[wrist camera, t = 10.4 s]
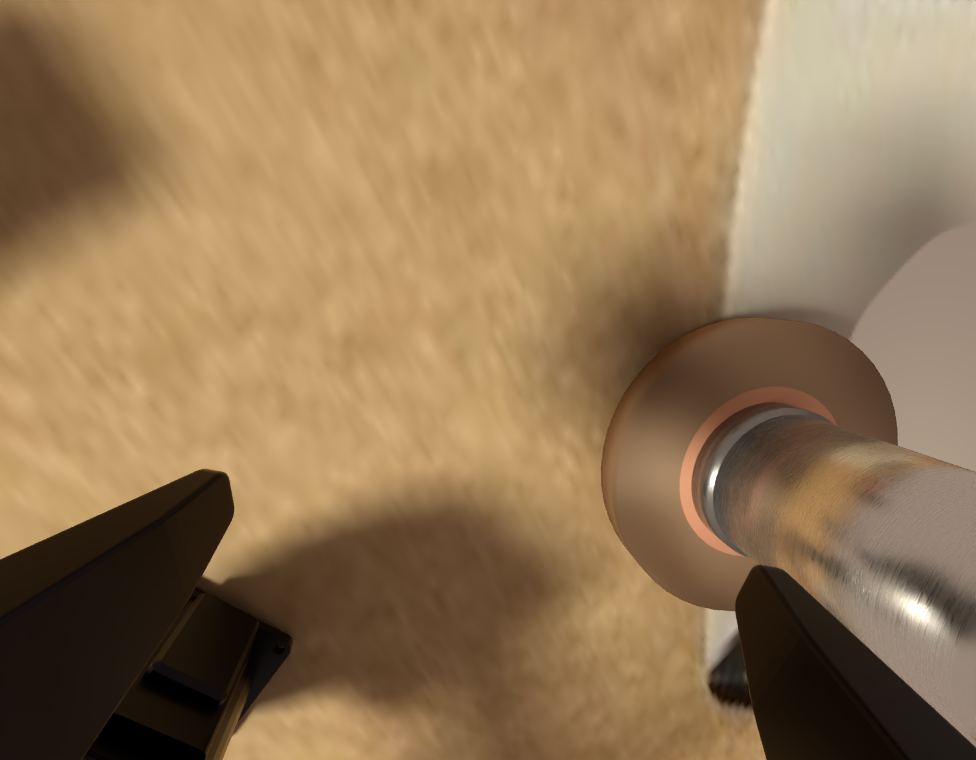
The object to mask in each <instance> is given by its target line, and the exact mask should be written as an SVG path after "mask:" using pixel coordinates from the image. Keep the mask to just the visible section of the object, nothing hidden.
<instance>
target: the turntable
mask: <svg viewBox="0 0 976 760" xmlns="http://www.w3.org/2000/svg"><path fill="white" fill-rule="evenodd" d="M769 402H777V403H785V404H789V405H792V406H795V407H799V408H802V409H805V410H808V411H811V412H814V413H817V414H819V415H821V416H823V417H825V418H827V419H828V420H830V421H831V422H832V423H833V424H834V425H837V426H840V427H843V428H846V429H849V430H852V431H855V432H858V433H861V434H864V435H866V436H869V437H872V438H875V439H878V440H881V441H884V442H887V443H890V444H893V445H896V446H898V441H897V424H896V417H895V410H894V407H893V403H892V400H891V396H890V393H889V391H888V389H887V387H886V385H885V382H884V380H883V378H882V377H881V375H880V373H879V372H878V370H877V369H876V367H875V366H874V364H873V363H872V362H871V361H870V360H869V358H868V357H867V356H866V355H865V354H864V353H863V352H862V351H861V350H860V349H859V348H857V347H856V346H855V345H854V344H853V343H851V342H850V341H849V340H847V339H846V338H844V337H842V336H840V335H839V334H837V333H835V332H833V331H831V330H828V329H826V328H823V327H820V326H818V325H813V324H809V323H804V322H799V321H789V320H779V319H769V318H753V317H748V318H736V319H729V320H725V321H721V322H716V323H713V324H710V325H707V326H705V327H702V328H699V329H697V330H695V331H693V332H691V333H689V334H687V335H685V336H683V337H681V338H679V339H678V340H677V341H675V342H674V343H672V344H671V345H669V346H668V347H666V348H665V349H664V350H662V351H661V352H660V353H659V354H658V355H657V356H656V357H655V358H653V359H652V360H651V361H650V362H649V363H648V364H647V365H646V366H645V367H644V369H643V370H642V371H641V372H640V373H639V374H638V375H637V377H636V378H635V379H634V380H633V382H632V383H631V385H630V386H629V388H628V389H627V391H626V392H625V393H624V395H623V397H622V399H621V401H620V403H619V405H618V406H617V408H616V410H615V412H614V415H613V417H612V420H611V423H610V425H609V428H608V431H607V435H606V439H605V443H604V447H603V454H602V463H601V486H602V492H603V498H604V504H605V507H606V510H607V513H608V517H609V519H610V522H611V524H612V526H613V528H614V530H615V532H616V534H617V536H618V537H619V538H620V540H621V541H622V543H623V544H624V546H625V547H626V549H627V550H628V551H629V552H630V554H631V555H632V556H633V557H634V558H635V560H636V561H637V562H638V563H639V565H640V566H641V567H642V568H643V570H644V571H645V572H646V573H647V574H648V575H649V576H650V577H651V578H652V579H653V580H654V581H655V582H656V583H657V584H658V585H660V586H661V587H662V588H663V589H665V590H666V591H667V592H669V593H671V594H672V595H674V596H676V597H678V598H679V599H681V600H683V601H686V602H689V603H691V604H694V605H696V606H700V607H705V608H709V609H713V610H725V611H735V601H736V597H737V595H738V593H739V591H740V589H741V587H742V585H743V583H744V581H745V580H746V578H747V576H748V574H749V572H750V570H751V569H752V567H754V566H755V565H758V564H757V563H756V562H755V561H753V560H752V559H751V558H749V557H746V556H743V555H741V554H739V553H737V552H735V551H734V550H732V549H731V548H730V547H728V546H727V545H726V544H725V543H724V542H722V541H721V540H720V539H719V538H718V537H716V536H715V535H714V534H713V533H712V532H710V531H709V530H708V528H707V527H706V526H705V525H704V524H703V523H702V521H701V520H700V518H699V516H698V514H697V512H696V510H695V507H694V504H693V499H692V490H691V482H692V474H693V469H694V465H695V462H696V459H697V456H698V454H699V452H700V450H701V448H702V446H703V444H704V443H705V441H706V440H707V438H708V437H709V436H710V434H711V433H712V432H713V431H714V430H715V429H716V428H717V427H718V426H719V425H720V424H721V423H722V422H723V421H724V420H726V419H727V418H728V417H729V416H731V415H733V414H734V413H736V412H738V411H740V410H742V409H744V408H746V407H749V406H752V405H755V404H761V403H769Z"/></svg>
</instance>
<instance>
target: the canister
mask: <svg viewBox="0 0 976 760" xmlns="http://www.w3.org/2000/svg"><path fill="white" fill-rule="evenodd" d="M691 490H692V499H693V504H694V507H695V510H696V512H697V514H698V516H699V518H700V520H701V521H702V523H703V524H704V525H705V526H706V527H707V528H708V530H709V531H710V532H712V533H713V534H714V535H715V536H716V537H718V538H719V539H720V540H721V541H722V542H724V543H725V544H726V545H727V546H728V547H730V548H731V549H732V550H734V551H735V552H737V553H739V554H741V555H743V556H746V557H749V558H751V559H752V560H753V561H755V562H756V563H757V564H758V565H765V566H771V567H776V568H780V569H783V570H784V571H786V572H787V573H788V574H789V575H790V576H791V577H792V578H793V579H795V580H796V581H797V582H798V583H799V584H800V585H801V586H802V587H803V588H804V589H805V590H806V591H808V592H809V593H810V594H811V595H812V596H813V597H814V598H815V599H816V600H817V601H818V602H819V603H820V604H822V605H823V606H824V607H825V608H826V609H827V610H828V611H829V612H830V613H831V614H832V615H833V616H835V617H836V618H837V619H838V620H839V621H840V622H841V623H842V624H843V625H844V626H845V627H846V628H847V629H849V630H850V631H851V632H852V633H853V634H854V635H855V636H856V637H857V638H858V639H859V640H860V641H862V642H863V643H864V644H865V645H866V646H867V647H868V648H869V649H870V650H871V651H872V652H873V653H874V654H876V655H877V656H878V657H879V658H880V659H881V660H882V661H883V662H884V663H885V664H886V665H887V666H889V667H890V668H891V669H892V670H893V671H894V672H895V673H896V674H897V675H898V676H899V677H900V678H901V679H903V680H904V681H905V682H906V683H907V684H908V685H909V686H910V687H911V688H912V689H913V690H914V691H916V692H917V693H918V694H919V695H920V696H921V697H922V698H923V699H924V700H926V701H927V702H928V703H929V704H931V705H932V706H933V707H934V708H935V709H937V710H938V711H939V712H940V713H942V714H943V715H944V716H945V717H947V718H948V719H949V720H950V721H951V722H953V723H954V724H955V725H956V726H958V727H959V728H960V729H961V730H963V731H964V732H965V733H966V734H968V735H969V736H970V737H971V738H972V739H974V740H975V741H976V472H974V471H971V470H968V469H965V468H962V467H959V466H956V465H953V464H950V463H947V462H944V461H941V460H938V459H935V458H932V457H929V456H926V455H923V454H920V453H917V452H914V451H911V450H908V449H905V448H902V447H899V446H896V445H893V444H890V443H887V442H884V441H881V440H878V439H875V438H872V437H869V436H866V435H864V434H861V433H858V432H855V431H852V430H849V429H846V428H843V427H840V426H837V425H834V424H833V423H832V422H831V421H830V420H828V419H827V418H825V417H823V416H821V415H819V414H817V413H814V412H811V411H808V410H805V409H802V408H799V407H795V406H792V405H789V404H785V403H777V402H769V403H761V404H755V405H752V406H749V407H746V408H744V409H742V410H740V411H738V412H736V413H734V414H733V415H731V416H729V417H728V418H727V419H726V420H724V421H723V422H722V423H721V424H720V425H719V426H718V427H717V428H716V429H715V430H714V431H713V432H712V433H711V434H710V436H709V437H708V438H707V440H706V441H705V443H704V444H703V446H702V448H701V450H700V452H699V454H698V456H697V459H696V462H695V465H694V469H693V474H692V482H691Z"/></svg>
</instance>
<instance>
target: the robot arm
mask: <svg viewBox="0 0 976 760" xmlns="http://www.w3.org/2000/svg"><path fill="white" fill-rule="evenodd" d="M233 515H234V502H233V497H232V491H231V486H230V480H229V477H228V475H227V474H226V473H224V472H221V471H215V470H209V469H201V470H198V471H195V472H193V473H191V474H189V475H187V476H184V477H182V478H180V479H178V480H175V481H173V482H171V483H169V484H167V485H164V486H162V487H160V488H158V489H155V490H153V491H151V492H149V493H147V494H144V495H142V496H140V497H138V498H136V499H133V500H131V501H129V502H127V503H124V504H122V505H120V506H118V507H116V508H113V509H111V510H109V511H107V512H105V513H102V514H100V515H98V516H96V517H93V518H91V519H89V520H87V521H85V522H82V523H80V524H78V525H76V526H74V527H71V528H69V529H67V530H65V531H62V532H60V533H58V534H56V535H54V536H51V537H49V538H47V539H45V540H42V541H40V542H38V543H36V544H34V545H31V546H29V547H27V548H25V549H23V550H20V551H18V552H16V553H14V554H11V555H9V556H7V557H5V558H3V559H0V760H223V757H224V754H225V752H226V749H227V747H228V744H229V742H230V739H231V737H232V734H233V732H234V729H235V727H236V724H237V723H238V721H239V720H240V719H241V717H242V716H243V715H244V713H245V712H246V711H247V709H248V708H249V707H250V705H251V704H252V703H253V701H254V700H255V699H256V697H257V696H258V695H259V693H260V692H261V691H262V689H263V688H264V687H265V685H266V684H267V683H268V682H269V680H270V679H271V678H272V676H273V675H274V674H275V672H276V671H277V670H278V668H279V667H280V666H281V664H282V663H283V662H284V660H285V659H286V658H287V656H288V655H289V653H290V651H291V648H292V645H293V640H292V638H291V637H290V636H289V635H288V634H286V633H284V632H282V631H280V630H278V629H276V628H274V627H272V626H270V625H268V624H266V623H264V622H262V621H260V620H258V619H257V618H255V617H253V616H251V615H249V614H247V613H245V612H243V611H241V610H239V609H237V608H235V607H233V606H231V605H229V604H228V603H226V602H224V601H222V600H220V599H218V598H216V597H214V596H212V595H210V594H208V593H206V592H204V591H202V590H200V589H198V588H196V586H197V584H198V582H199V580H200V578H201V577H202V575H203V573H204V571H205V569H206V567H207V566H208V564H209V562H210V560H211V558H212V556H213V554H214V553H215V551H216V549H217V547H218V545H219V543H220V541H221V540H222V538H223V536H224V534H225V532H226V530H227V528H228V527H229V525H230V523H231V521H232V518H233ZM735 613H736V618H737V624H738V630H739V636H740V641H741V647H742V653H743V658H744V664H745V670H746V676H747V681H748V687H749V693H750V697H751V702H752V707H753V711H754V715H755V719H756V723H757V727H758V730H759V734H760V738H761V741H762V745H763V748H764V752H765V755H766V759H767V760H976V747H975V746H974V745H973V744H972V743H971V742H970V741H968V740H967V739H966V738H965V737H964V736H963V735H962V734H961V733H960V732H959V731H958V730H957V729H955V728H954V727H953V726H952V725H951V724H950V723H949V722H948V721H947V720H946V719H945V718H943V717H942V716H941V715H940V714H939V713H938V712H937V711H936V710H935V709H934V708H933V707H932V706H931V705H930V704H928V703H927V702H926V701H925V700H924V699H923V698H922V697H921V696H920V695H919V694H918V693H917V692H916V691H914V690H913V689H912V688H911V687H910V686H909V685H908V684H907V683H906V682H905V681H904V680H903V679H901V678H900V677H899V676H898V675H897V674H896V673H895V672H894V671H893V670H892V669H891V668H890V667H889V666H887V665H886V664H885V663H884V662H883V661H882V660H881V659H880V658H879V657H878V656H877V655H876V654H874V653H873V652H872V651H871V650H870V649H869V648H868V647H867V646H866V645H865V644H864V643H863V642H862V641H860V640H859V639H858V638H857V637H856V636H855V635H854V634H853V633H852V632H851V631H850V630H849V629H847V628H846V627H845V626H844V625H843V624H842V623H841V622H840V621H839V620H838V619H837V618H836V617H835V616H833V615H832V614H831V613H830V612H829V611H828V610H827V609H826V608H825V607H824V606H823V605H822V604H820V603H819V602H818V601H817V600H816V599H815V598H814V597H813V596H812V595H811V594H810V593H809V592H808V591H806V590H805V589H804V588H803V587H802V586H801V585H800V584H799V583H798V582H797V581H796V580H795V579H793V578H792V577H791V576H790V575H789V574H788V573H787V572H786V571H784V570H783V569H780V568H776V567H771V566H765V565H755V566H754V567H752V569H751V570H750V572H749V574H748V576H747V578H746V580H745V581H744V583H743V585H742V587H741V589H740V591H739V593H738V595H737V597H736V601H735ZM278 644H280V645H283V646H284V648H278V647H277V646H276V645H278Z"/></svg>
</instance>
